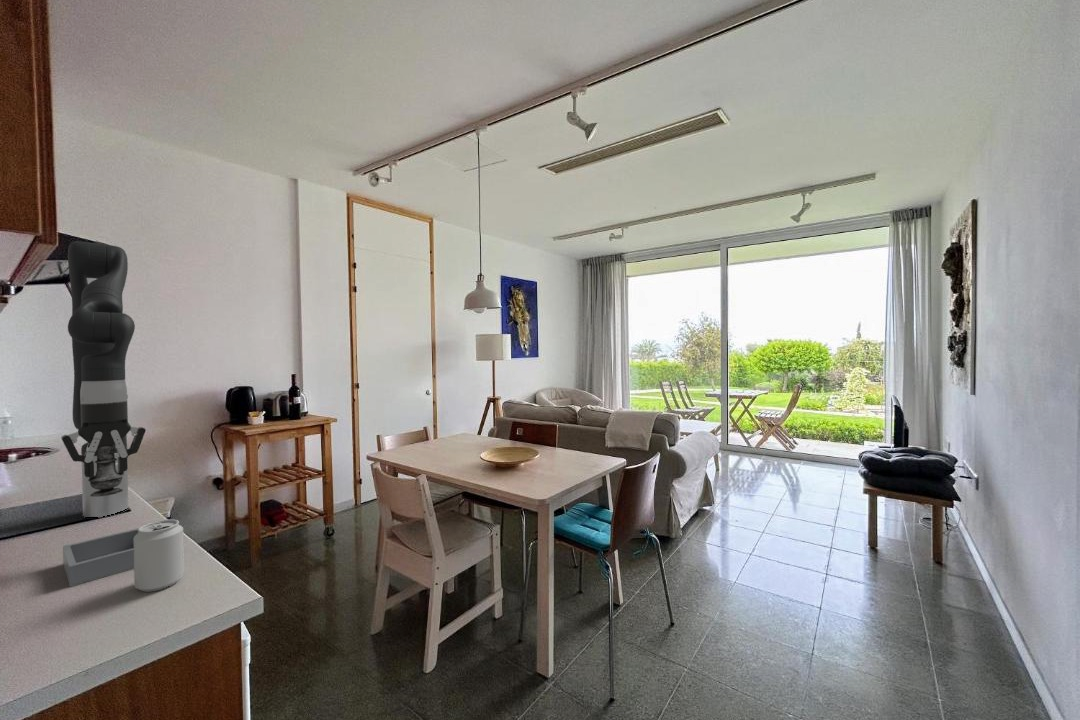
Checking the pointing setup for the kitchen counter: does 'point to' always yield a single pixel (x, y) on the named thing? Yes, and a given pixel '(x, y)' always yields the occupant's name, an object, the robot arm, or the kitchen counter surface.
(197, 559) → the kitchen counter surface
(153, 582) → the can
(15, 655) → the kitchen counter surface
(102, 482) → the chess piece
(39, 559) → the kitchen counter surface
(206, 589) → the kitchen counter surface
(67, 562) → the bin
